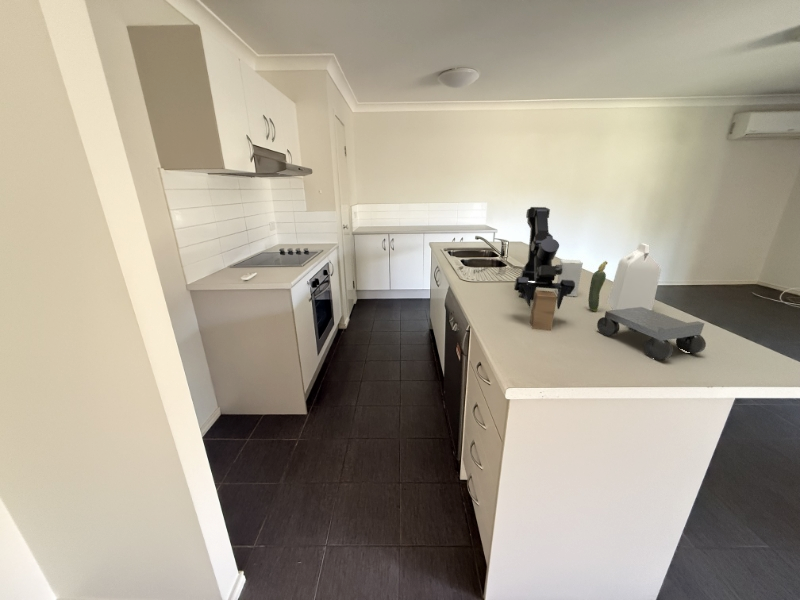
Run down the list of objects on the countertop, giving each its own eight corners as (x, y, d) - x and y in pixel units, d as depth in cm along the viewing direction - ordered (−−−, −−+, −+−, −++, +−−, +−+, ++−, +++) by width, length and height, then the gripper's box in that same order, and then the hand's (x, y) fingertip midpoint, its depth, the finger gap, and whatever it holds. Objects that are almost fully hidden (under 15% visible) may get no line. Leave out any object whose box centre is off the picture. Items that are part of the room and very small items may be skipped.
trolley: (595, 331, 106) (601, 304, 103) (629, 326, 110) (636, 300, 107) (662, 363, 86) (673, 332, 83) (701, 356, 90) (712, 326, 87)
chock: (529, 322, 113) (534, 290, 109) (547, 323, 112) (553, 291, 108) (532, 328, 108) (537, 295, 104) (551, 330, 106) (557, 297, 102)
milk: (650, 316, 119) (670, 247, 110) (615, 312, 122) (632, 246, 114) (639, 306, 129) (656, 242, 121) (607, 303, 133) (621, 241, 124)
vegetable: (585, 311, 123) (596, 261, 117) (584, 308, 127) (594, 259, 120) (598, 313, 122) (610, 262, 115) (596, 309, 125) (608, 260, 119)
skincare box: (574, 293, 145) (581, 260, 140) (577, 297, 139) (583, 263, 134) (554, 291, 148) (560, 258, 143) (556, 295, 142) (562, 261, 137)
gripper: (519, 254, 108) (518, 293, 102) (579, 256, 104) (582, 298, 97) (514, 271, 118) (513, 308, 111) (568, 274, 114) (571, 313, 107)
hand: (543, 307), depth 106 cm, fingers open, 9 cm apart
